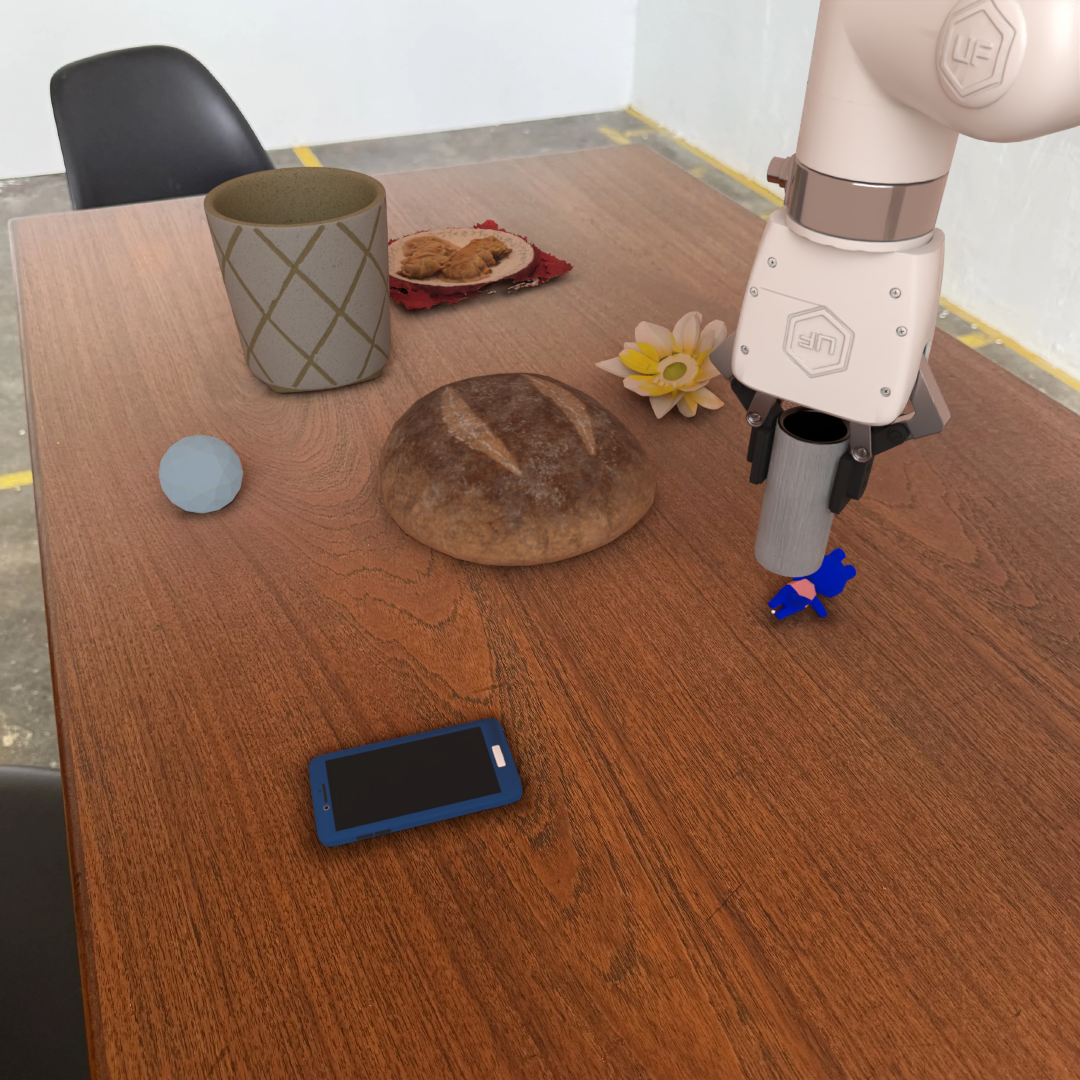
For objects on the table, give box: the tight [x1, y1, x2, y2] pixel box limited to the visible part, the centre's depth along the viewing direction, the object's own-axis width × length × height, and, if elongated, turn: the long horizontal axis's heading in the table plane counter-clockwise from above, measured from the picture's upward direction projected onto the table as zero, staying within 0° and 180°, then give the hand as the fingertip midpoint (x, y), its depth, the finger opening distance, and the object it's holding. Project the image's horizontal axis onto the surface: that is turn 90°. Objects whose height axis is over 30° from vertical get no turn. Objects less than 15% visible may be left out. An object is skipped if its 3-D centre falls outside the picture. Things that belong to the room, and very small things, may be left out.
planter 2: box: [753, 405, 850, 578], centre depth 61 cm, size 4×4×10 cm
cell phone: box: [308, 717, 524, 848], centre depth 67 cm, size 7×14×1 cm, turn 107°
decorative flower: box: [595, 310, 728, 419], centre depth 106 cm, size 15×11×10 cm
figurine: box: [767, 547, 857, 621], centre depth 80 cm, size 5×8×5 cm, turn 133°
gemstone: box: [157, 434, 244, 514], centre depth 93 cm, size 8×8×5 cm
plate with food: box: [388, 219, 574, 311], centre depth 137 cm, size 24×26×4 cm
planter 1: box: [203, 166, 392, 394], centre depth 109 cm, size 19×19×20 cm
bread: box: [378, 372, 657, 567], centre depth 91 cm, size 26×27×10 cm
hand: (802, 485), depth 61 cm, fingers closed on planter 2, 4 cm apart
